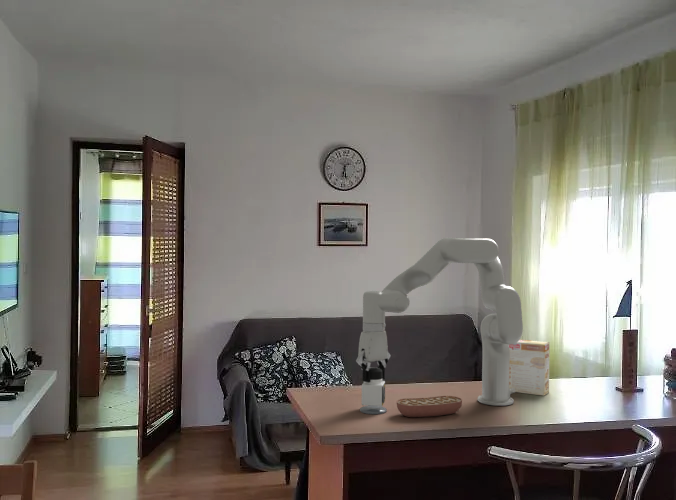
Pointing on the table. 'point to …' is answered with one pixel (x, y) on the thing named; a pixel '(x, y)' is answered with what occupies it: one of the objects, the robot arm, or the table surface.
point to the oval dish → (429, 406)
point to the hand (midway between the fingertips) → (373, 379)
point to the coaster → (373, 409)
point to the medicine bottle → (374, 389)
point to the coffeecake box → (529, 367)
